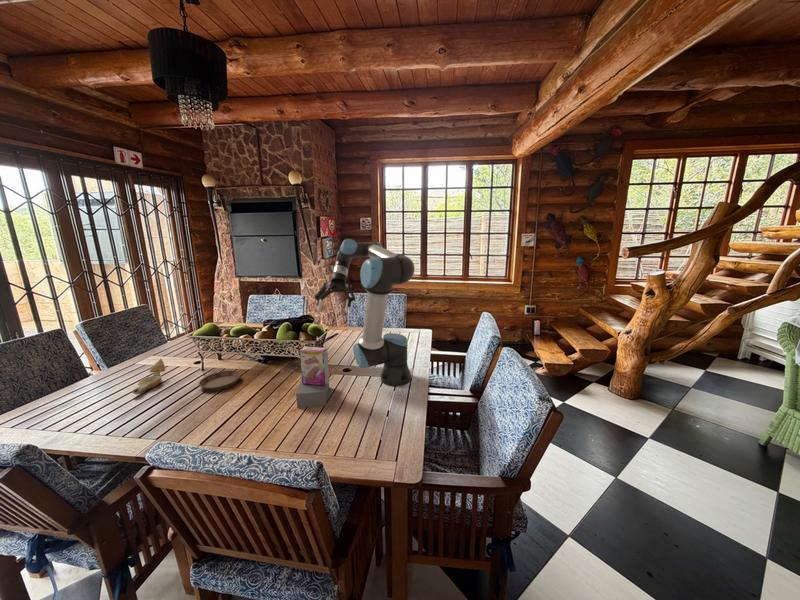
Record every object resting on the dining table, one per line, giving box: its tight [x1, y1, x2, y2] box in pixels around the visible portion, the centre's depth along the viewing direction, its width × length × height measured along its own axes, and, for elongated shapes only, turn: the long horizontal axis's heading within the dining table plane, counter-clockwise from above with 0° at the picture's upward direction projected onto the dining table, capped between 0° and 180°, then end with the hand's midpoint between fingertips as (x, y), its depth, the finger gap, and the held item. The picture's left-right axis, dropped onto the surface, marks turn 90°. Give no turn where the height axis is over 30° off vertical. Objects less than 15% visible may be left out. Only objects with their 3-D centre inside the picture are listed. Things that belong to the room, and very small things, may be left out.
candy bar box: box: [299, 346, 330, 386], centre depth 140 cm, size 11×5×16 cm, turn 81°
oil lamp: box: [131, 358, 166, 395], centre depth 152 cm, size 9×21×10 cm, turn 6°
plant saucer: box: [198, 370, 241, 392], centre depth 156 cm, size 18×18×3 cm
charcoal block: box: [295, 377, 330, 409], centre depth 143 cm, size 12×16×7 cm
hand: (332, 312), depth 152 cm, fingers open, 13 cm apart
